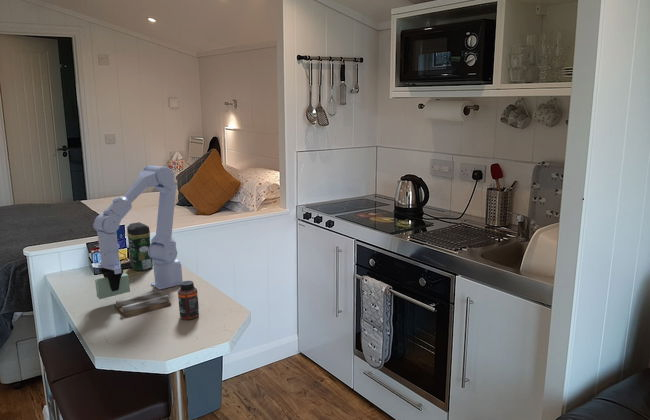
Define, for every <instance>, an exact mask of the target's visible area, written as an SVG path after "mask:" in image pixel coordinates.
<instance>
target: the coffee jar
mask: <svg viewBox="0 0 650 420" xmlns="http://www.w3.org/2000/svg"><path fill="white" fill-rule="evenodd" d="M126 231H127V232H126V233H127V239H128V250H129V261H130V267H131V268H132V269H133V270H134V271H138V272H139V271H147V270H150V269H152V268H154V267H153V262H152V258H150V257H149V255H148V249H149V246H150V244H151V231H150V226H148V225H147V224H145V223H142V222H140V221H139V222H133V223H132V222H131V223H130V224H128V226H127V227H126Z"/></svg>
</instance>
